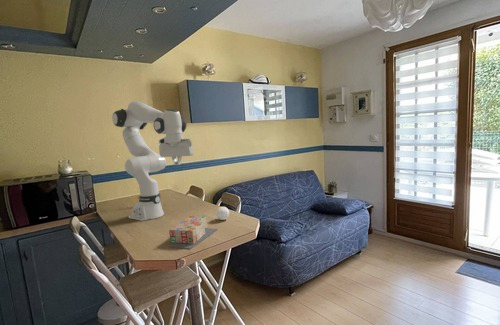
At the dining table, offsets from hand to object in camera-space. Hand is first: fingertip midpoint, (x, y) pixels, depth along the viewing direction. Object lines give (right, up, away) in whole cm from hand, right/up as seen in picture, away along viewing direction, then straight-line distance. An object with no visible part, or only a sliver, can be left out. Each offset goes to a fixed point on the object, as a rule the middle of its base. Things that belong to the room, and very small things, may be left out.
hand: (177, 164), depth 146 cm
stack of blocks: (+5, -32, -11) cm, 34 cm away
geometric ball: (+24, -32, +9) cm, 41 cm away
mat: (+13, -35, -16) cm, 41 cm away
